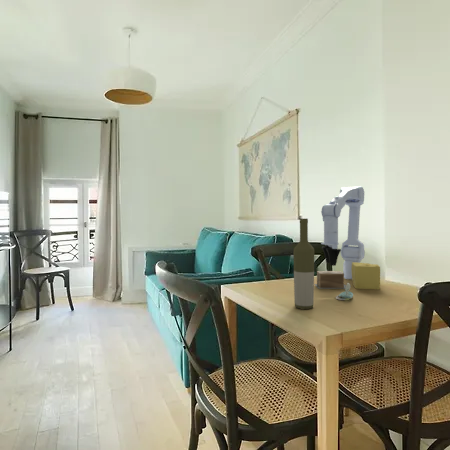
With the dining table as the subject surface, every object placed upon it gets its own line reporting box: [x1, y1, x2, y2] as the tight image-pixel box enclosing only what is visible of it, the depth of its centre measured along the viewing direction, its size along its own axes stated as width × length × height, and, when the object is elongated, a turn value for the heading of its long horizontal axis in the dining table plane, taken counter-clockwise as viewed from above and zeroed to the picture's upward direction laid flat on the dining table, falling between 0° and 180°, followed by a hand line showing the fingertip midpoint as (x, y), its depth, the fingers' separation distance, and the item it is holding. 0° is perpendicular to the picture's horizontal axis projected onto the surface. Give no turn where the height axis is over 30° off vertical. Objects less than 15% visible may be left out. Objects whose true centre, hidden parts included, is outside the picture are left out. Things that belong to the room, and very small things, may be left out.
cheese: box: [351, 262, 381, 290], centre depth 147 cm, size 10×11×10 cm
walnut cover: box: [316, 270, 345, 288], centre depth 148 cm, size 6×10×6 cm, turn 86°
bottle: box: [292, 218, 315, 310], centre depth 117 cm, size 7×7×30 cm
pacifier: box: [335, 282, 354, 301], centre depth 128 cm, size 7×6×6 cm
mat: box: [314, 283, 347, 290], centre depth 148 cm, size 9×13×1 cm
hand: (330, 264), depth 148 cm, fingers open, 7 cm apart
